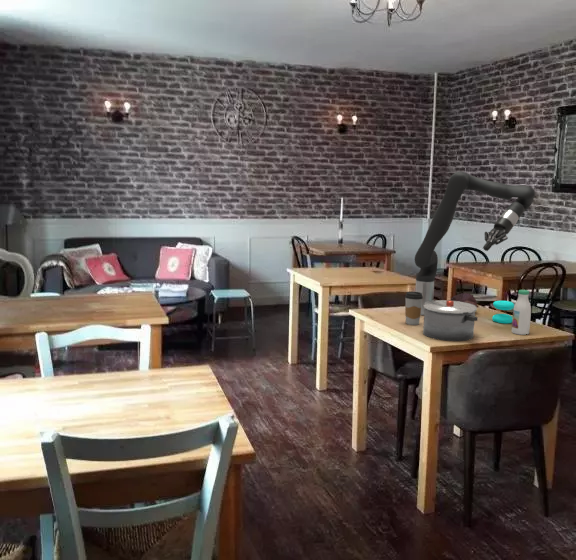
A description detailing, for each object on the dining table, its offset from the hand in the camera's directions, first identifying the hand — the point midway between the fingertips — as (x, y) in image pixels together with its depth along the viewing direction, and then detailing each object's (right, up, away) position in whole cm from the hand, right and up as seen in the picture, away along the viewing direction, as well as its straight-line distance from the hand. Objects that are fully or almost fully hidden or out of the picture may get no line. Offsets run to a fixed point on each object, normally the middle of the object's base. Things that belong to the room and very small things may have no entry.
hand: (485, 249), depth 295 cm
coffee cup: (-30, -35, +17) cm, 49 cm away
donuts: (+16, -35, +25) cm, 46 cm away
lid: (-17, -27, -5) cm, 32 cm away
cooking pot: (-18, -39, -3) cm, 43 cm away
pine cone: (+3, -31, +47) cm, 56 cm away
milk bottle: (+17, -39, +3) cm, 42 cm away
